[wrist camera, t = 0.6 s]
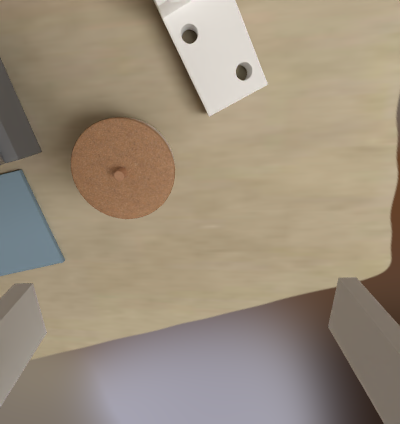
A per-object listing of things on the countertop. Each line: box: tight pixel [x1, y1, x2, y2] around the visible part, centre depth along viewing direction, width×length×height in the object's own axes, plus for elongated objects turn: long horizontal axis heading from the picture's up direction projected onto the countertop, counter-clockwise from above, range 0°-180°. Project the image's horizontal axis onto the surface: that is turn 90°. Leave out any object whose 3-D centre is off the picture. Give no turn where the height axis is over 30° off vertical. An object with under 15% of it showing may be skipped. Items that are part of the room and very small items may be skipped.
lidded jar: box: [71, 117, 175, 219], centre depth 32 cm, size 11×11×9 cm
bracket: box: [153, 0, 268, 116], centre depth 29 cm, size 13×7×8 cm, turn 27°
